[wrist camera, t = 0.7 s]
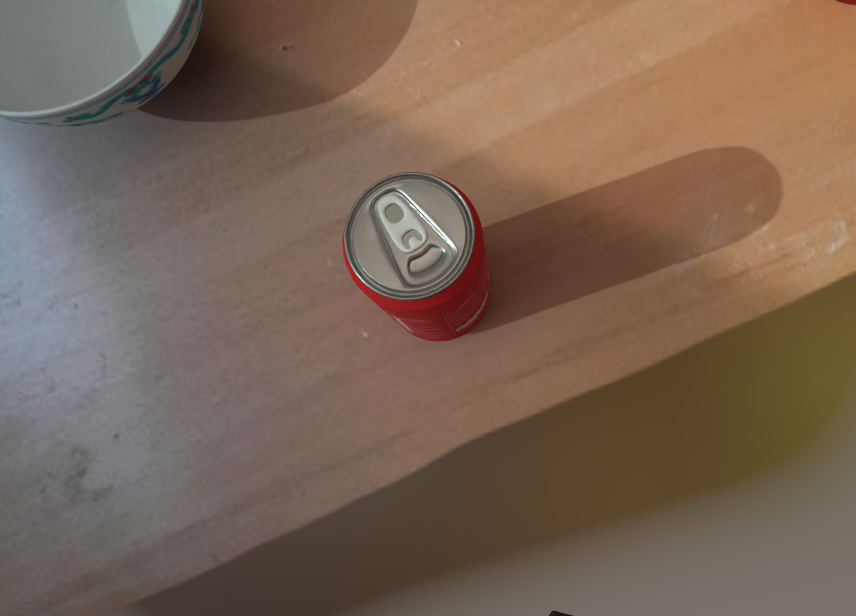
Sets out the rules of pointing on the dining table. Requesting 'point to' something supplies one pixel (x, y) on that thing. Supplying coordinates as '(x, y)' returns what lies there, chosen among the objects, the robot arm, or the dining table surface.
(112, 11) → the chinaware
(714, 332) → the dining table surface
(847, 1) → the coffee cup
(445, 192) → the beverage can
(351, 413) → the dining table surface
